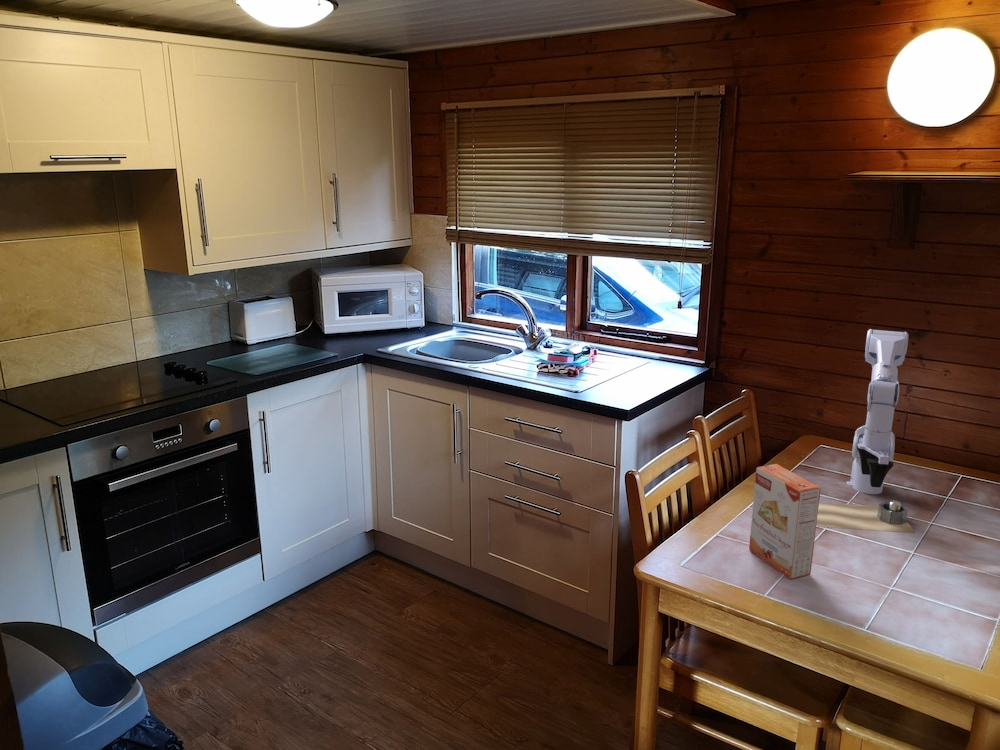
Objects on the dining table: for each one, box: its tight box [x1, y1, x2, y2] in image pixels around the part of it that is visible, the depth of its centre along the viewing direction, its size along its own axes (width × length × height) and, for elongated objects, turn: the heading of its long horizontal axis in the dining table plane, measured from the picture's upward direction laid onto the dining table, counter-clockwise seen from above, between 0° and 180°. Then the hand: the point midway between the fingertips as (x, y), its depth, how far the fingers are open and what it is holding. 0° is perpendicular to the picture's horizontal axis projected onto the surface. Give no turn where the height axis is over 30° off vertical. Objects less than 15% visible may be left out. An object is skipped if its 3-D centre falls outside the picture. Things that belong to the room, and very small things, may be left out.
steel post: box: [889, 499, 902, 512], centre depth 189 cm, size 3×2×4 cm
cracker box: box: [748, 463, 822, 580], centre depth 170 cm, size 14×6×21 cm, turn 21°
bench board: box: [816, 501, 916, 534], centre depth 192 cm, size 14×22×1 cm, turn 81°
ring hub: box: [877, 501, 909, 525], centre depth 190 cm, size 6×6×3 cm
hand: (870, 480), depth 192 cm, fingers open, 7 cm apart
